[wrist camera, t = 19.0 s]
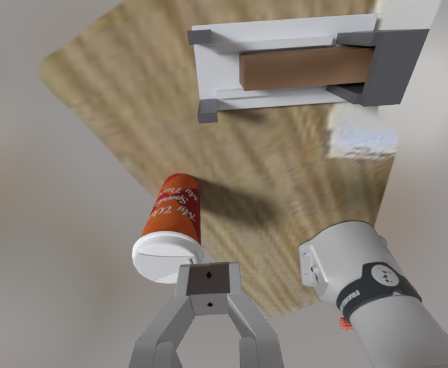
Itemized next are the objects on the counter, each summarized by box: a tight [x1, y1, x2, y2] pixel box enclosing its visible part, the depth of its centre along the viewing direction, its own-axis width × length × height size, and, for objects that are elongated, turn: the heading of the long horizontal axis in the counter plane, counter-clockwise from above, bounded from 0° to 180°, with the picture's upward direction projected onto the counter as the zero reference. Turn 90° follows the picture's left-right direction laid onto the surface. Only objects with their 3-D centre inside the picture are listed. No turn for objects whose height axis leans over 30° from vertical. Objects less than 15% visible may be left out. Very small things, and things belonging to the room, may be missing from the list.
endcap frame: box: [187, 13, 429, 123], centre depth 23 cm, size 9×20×9 cm, turn 93°
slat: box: [239, 45, 376, 91], centre depth 23 cm, size 3×14×5 cm, turn 93°
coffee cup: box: [132, 174, 204, 283], centre depth 31 cm, size 8×8×15 cm
